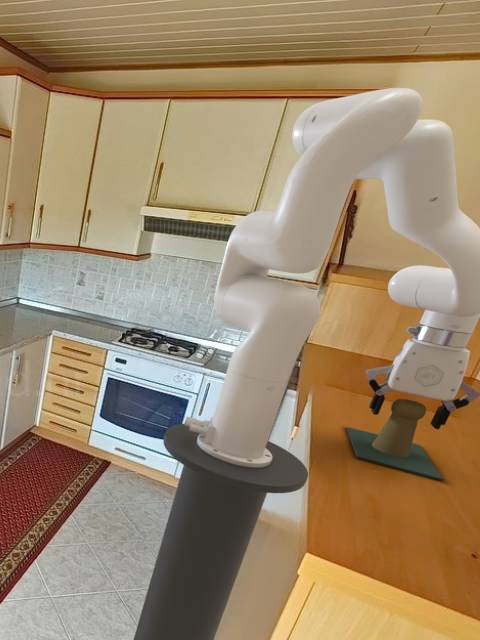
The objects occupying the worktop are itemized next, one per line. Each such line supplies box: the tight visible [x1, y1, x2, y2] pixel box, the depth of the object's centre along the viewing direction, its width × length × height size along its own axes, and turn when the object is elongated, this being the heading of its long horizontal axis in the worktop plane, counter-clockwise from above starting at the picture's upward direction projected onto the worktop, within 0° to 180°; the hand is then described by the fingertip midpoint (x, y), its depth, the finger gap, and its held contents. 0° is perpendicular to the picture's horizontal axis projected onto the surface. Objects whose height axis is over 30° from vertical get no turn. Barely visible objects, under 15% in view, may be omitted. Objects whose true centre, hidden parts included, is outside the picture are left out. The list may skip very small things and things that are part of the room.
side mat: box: [345, 426, 444, 482], centre depth 101 cm, size 13×18×1 cm
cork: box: [372, 398, 427, 457], centre depth 99 cm, size 6×6×11 cm
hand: (403, 419), depth 98 cm, fingers open, 9 cm apart
